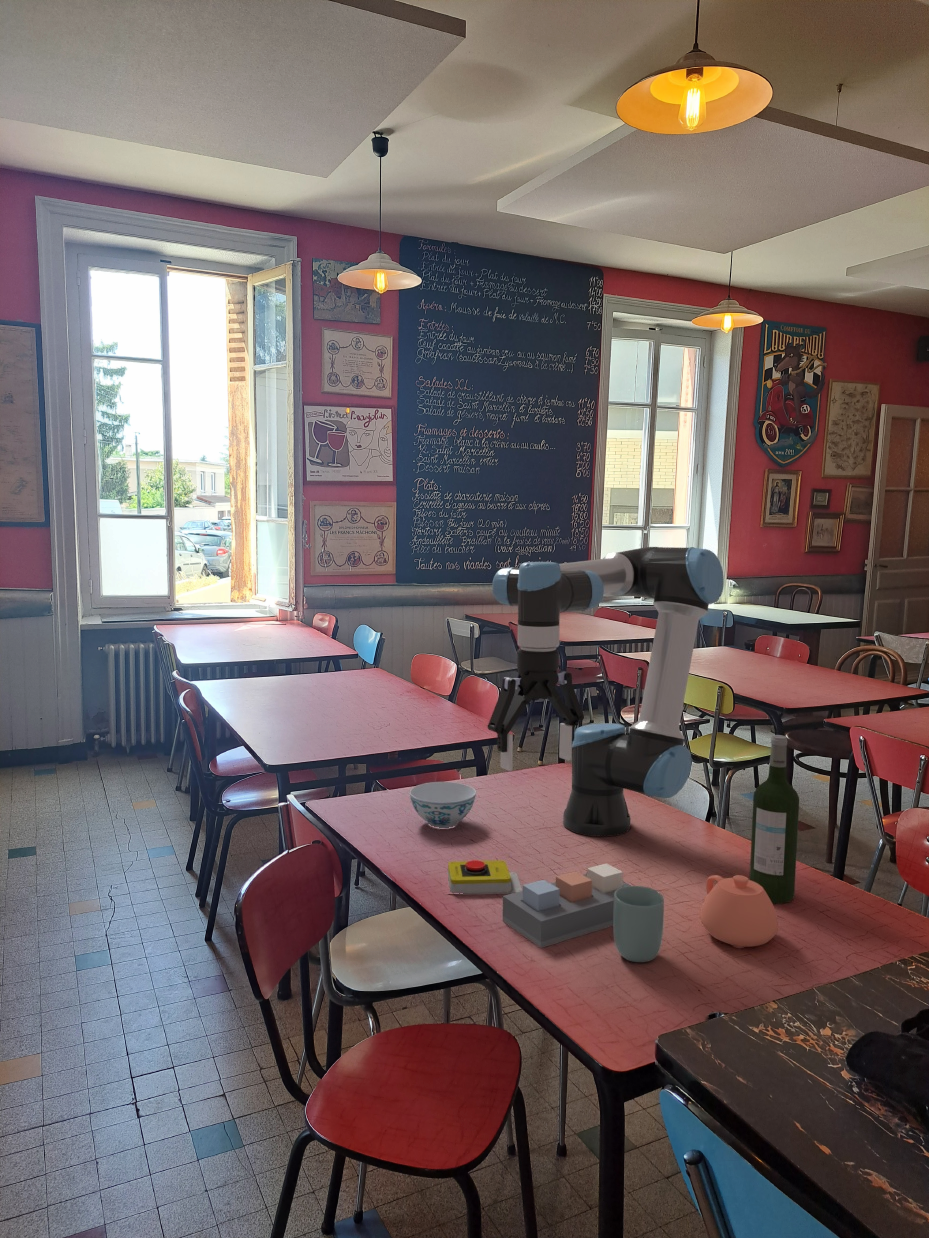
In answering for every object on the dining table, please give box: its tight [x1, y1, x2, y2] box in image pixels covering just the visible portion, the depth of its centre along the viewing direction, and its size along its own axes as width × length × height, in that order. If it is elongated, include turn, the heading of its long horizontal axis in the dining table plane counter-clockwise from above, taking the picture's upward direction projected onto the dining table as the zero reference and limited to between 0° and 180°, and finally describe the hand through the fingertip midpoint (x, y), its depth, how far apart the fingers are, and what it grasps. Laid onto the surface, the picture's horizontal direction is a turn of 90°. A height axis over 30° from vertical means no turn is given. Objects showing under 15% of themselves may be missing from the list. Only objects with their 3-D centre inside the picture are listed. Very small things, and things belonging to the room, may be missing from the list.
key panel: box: [502, 873, 632, 949], centre depth 149 cm, size 22×11×4 cm, turn 121°
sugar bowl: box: [700, 874, 779, 949], centre depth 143 cm, size 12×14×10 cm
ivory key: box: [586, 863, 624, 894], centre depth 152 cm, size 4×4×4 cm
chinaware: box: [409, 781, 477, 828], centre depth 195 cm, size 15×15×8 cm
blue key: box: [522, 879, 560, 912], centre depth 145 cm, size 4×4×4 cm
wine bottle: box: [749, 734, 800, 905], centre depth 158 cm, size 8×8×30 cm
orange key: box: [555, 871, 592, 903], centre depth 148 cm, size 4×4×4 cm
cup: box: [612, 885, 665, 963], centre depth 136 cm, size 8×8×10 cm
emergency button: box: [447, 859, 523, 895], centre depth 163 cm, size 9×4×15 cm
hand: (536, 763), depth 157 cm, fingers open, 12 cm apart
